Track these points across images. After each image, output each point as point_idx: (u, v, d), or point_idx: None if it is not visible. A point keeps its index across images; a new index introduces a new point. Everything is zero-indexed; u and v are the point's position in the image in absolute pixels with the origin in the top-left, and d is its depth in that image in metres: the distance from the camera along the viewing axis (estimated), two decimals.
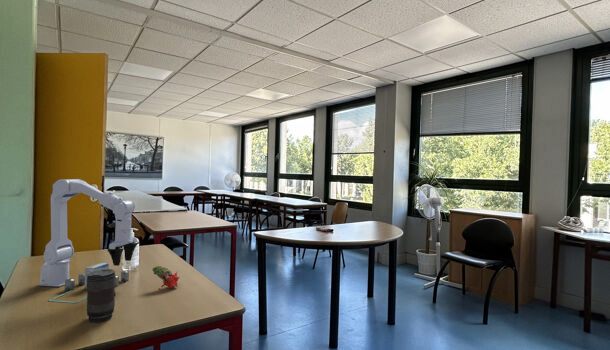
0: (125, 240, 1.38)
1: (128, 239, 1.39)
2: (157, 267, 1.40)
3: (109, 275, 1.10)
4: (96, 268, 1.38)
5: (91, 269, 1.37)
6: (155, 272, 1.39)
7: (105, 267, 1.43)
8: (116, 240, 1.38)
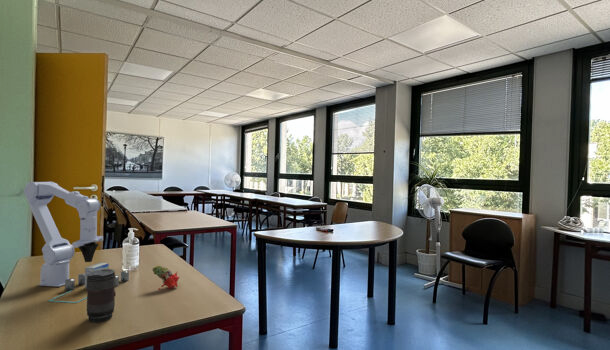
0: (90, 238, 1.37)
1: (93, 237, 1.38)
2: (157, 267, 1.40)
3: (109, 275, 1.10)
4: (96, 268, 1.38)
5: (91, 269, 1.37)
6: (155, 272, 1.39)
7: (105, 267, 1.43)
8: (81, 239, 1.37)
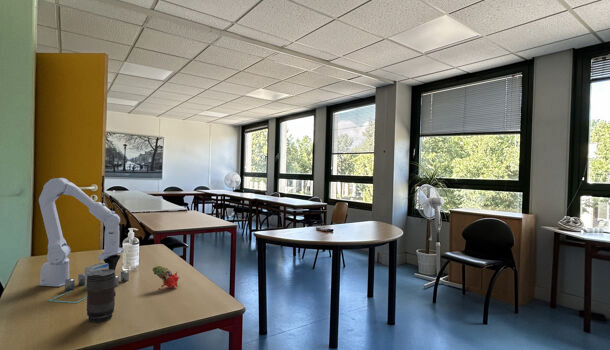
0: (113, 251, 1.48)
1: (116, 250, 1.49)
2: (157, 267, 1.40)
3: (109, 275, 1.10)
4: (96, 268, 1.38)
5: (91, 269, 1.37)
6: (155, 272, 1.39)
7: (105, 267, 1.43)
8: (105, 251, 1.48)
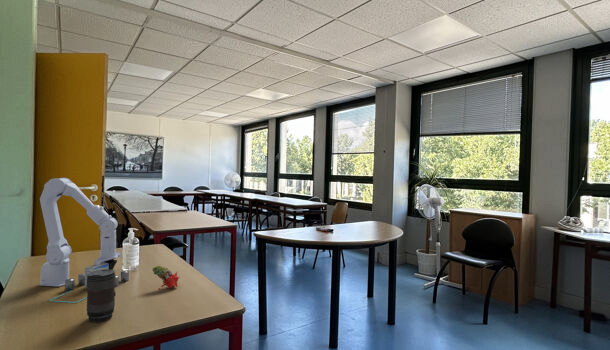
0: (110, 256, 1.46)
1: (113, 255, 1.47)
2: (157, 267, 1.40)
3: (109, 275, 1.10)
4: (96, 268, 1.38)
5: (91, 269, 1.37)
6: (155, 272, 1.39)
7: (105, 267, 1.43)
8: (101, 256, 1.45)
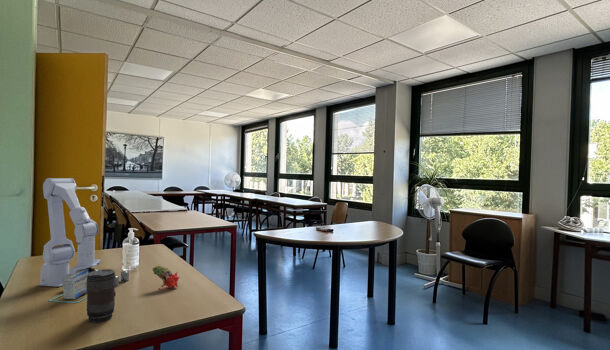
0: (87, 264, 1.33)
1: (91, 263, 1.34)
2: (157, 267, 1.40)
3: (109, 275, 1.10)
4: (75, 277, 1.26)
5: (69, 278, 1.25)
6: (155, 272, 1.39)
7: (84, 274, 1.31)
8: (78, 264, 1.32)
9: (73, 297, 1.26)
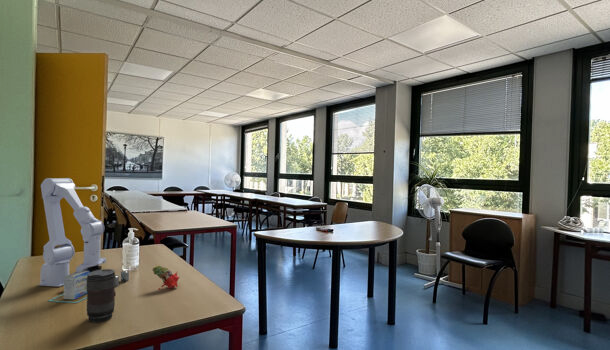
0: (93, 262, 1.36)
1: (97, 261, 1.37)
2: (157, 267, 1.40)
3: (109, 275, 1.10)
4: (77, 277, 1.27)
5: (71, 277, 1.26)
6: (155, 272, 1.39)
7: (86, 275, 1.32)
8: (84, 262, 1.35)
9: (73, 297, 1.26)
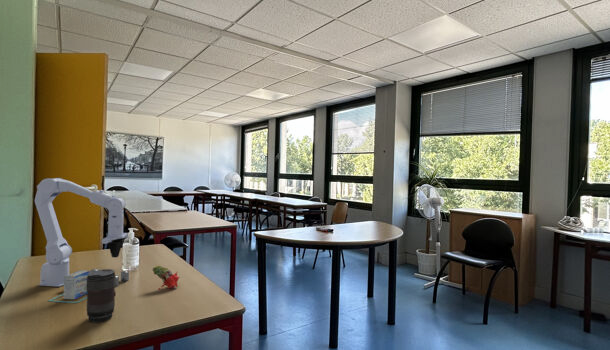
0: (117, 235, 1.46)
1: (120, 234, 1.47)
2: (157, 267, 1.40)
3: (109, 275, 1.10)
4: (77, 277, 1.27)
5: (71, 277, 1.26)
6: (155, 272, 1.39)
7: (86, 275, 1.32)
8: (109, 235, 1.45)
9: (73, 297, 1.26)
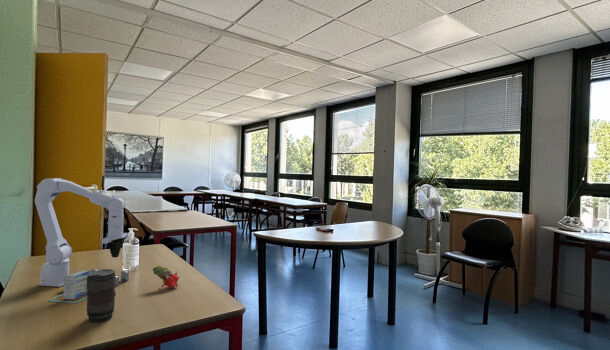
0: (117, 235, 1.46)
1: (120, 234, 1.47)
2: (157, 267, 1.40)
3: (109, 275, 1.10)
4: (77, 277, 1.27)
5: (71, 277, 1.26)
6: (155, 272, 1.39)
7: (86, 275, 1.32)
8: (109, 235, 1.45)
9: (73, 297, 1.26)
